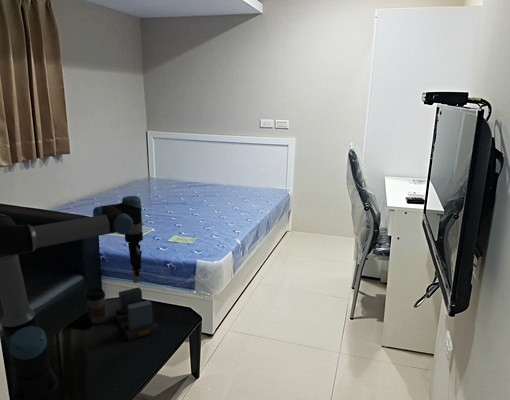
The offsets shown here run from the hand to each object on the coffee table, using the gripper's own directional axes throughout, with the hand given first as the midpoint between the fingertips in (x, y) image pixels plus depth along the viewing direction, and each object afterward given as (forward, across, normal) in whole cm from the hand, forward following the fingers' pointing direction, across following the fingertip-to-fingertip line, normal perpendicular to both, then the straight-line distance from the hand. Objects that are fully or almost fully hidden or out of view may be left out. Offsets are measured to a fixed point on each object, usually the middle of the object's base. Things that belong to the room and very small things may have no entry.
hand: (136, 281), depth 186 cm
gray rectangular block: (+24, 0, 0) cm, 24 cm away
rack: (+25, +8, 0) cm, 26 cm away
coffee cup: (+25, +20, +14) cm, 35 cm away
